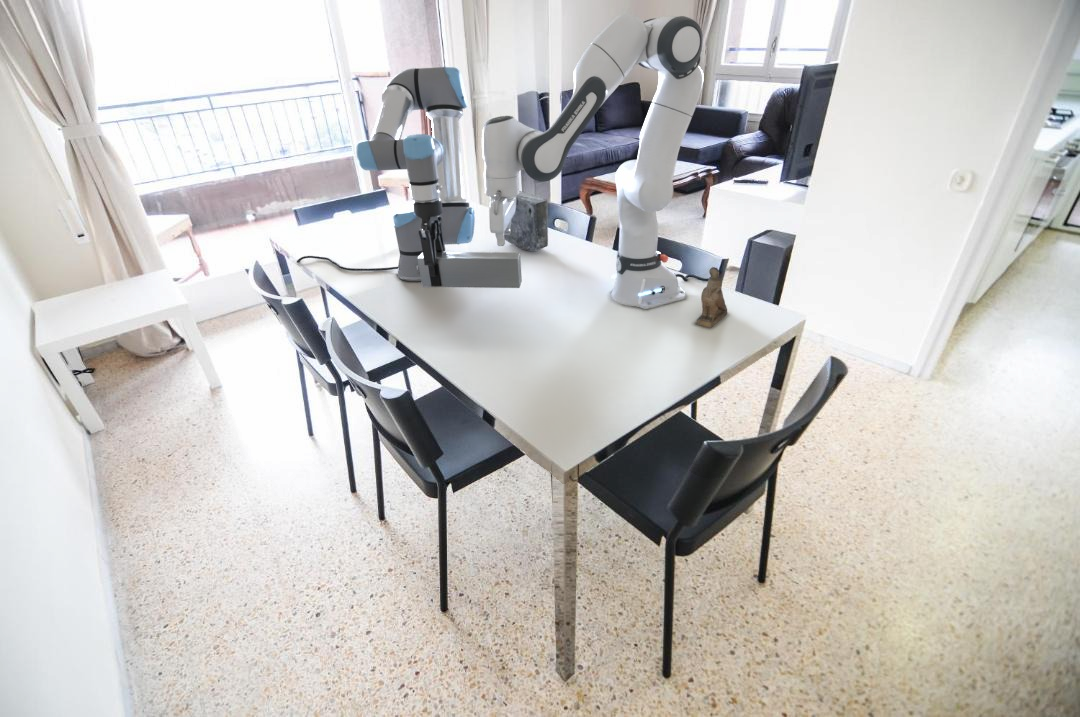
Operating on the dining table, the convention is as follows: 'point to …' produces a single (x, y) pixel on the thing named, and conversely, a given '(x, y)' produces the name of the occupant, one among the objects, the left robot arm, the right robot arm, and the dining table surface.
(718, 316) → the brown carved statuette
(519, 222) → the concrete block
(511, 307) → the dining table surface
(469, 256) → the bar
